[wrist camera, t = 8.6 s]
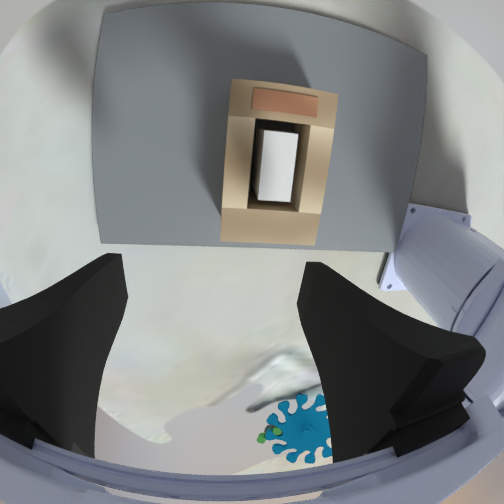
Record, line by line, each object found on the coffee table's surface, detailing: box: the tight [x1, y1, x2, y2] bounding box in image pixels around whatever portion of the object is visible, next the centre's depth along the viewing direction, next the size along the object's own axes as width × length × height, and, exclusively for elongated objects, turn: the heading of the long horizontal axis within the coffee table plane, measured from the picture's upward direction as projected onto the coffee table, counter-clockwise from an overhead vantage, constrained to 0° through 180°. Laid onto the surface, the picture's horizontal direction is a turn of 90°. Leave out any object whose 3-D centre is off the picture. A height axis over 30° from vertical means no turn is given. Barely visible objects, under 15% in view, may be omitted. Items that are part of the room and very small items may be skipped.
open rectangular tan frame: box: [220, 79, 338, 246], centre depth 14 cm, size 8×5×4 cm, turn 175°
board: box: [92, 2, 427, 253], centre depth 14 cm, size 22×16×4 cm
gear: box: [257, 394, 332, 463], centre depth 29 cm, size 11×6×10 cm
